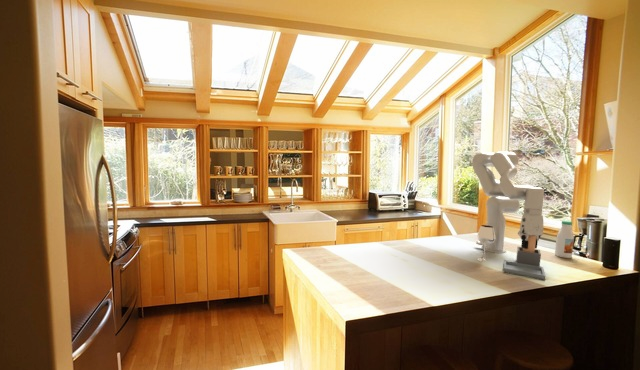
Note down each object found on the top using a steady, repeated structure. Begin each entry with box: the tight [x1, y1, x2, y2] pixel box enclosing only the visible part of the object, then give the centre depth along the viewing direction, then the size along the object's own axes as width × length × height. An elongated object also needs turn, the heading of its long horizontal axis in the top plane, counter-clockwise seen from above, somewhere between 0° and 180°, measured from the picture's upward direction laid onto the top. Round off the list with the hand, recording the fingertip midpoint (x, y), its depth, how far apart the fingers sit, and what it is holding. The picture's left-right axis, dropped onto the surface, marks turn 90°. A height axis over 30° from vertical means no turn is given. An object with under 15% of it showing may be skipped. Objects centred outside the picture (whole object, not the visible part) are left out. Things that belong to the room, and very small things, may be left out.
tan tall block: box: [523, 235, 536, 253], centre depth 162 cm, size 5×5×15 cm
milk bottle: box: [554, 220, 575, 259], centre depth 181 cm, size 8×8×20 cm
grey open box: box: [515, 246, 542, 267], centre depth 163 cm, size 10×10×8 cm
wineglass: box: [477, 224, 495, 262], centre depth 166 cm, size 8×8×18 cm
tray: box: [502, 260, 546, 281], centre depth 152 cm, size 16×14×2 cm
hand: (529, 247), depth 162 cm, fingers closed on tan tall block, 5 cm apart
